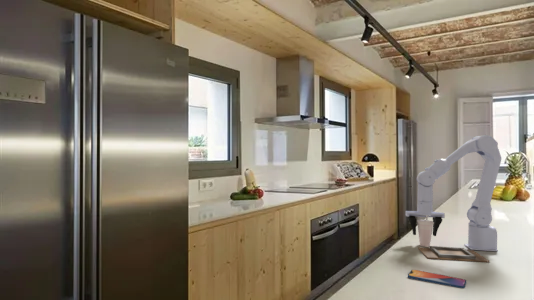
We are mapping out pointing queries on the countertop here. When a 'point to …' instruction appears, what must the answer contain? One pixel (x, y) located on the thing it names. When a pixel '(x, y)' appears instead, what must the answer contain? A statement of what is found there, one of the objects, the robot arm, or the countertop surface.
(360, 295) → the countertop surface
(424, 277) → the smartphone
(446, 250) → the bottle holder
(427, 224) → the smoothie
